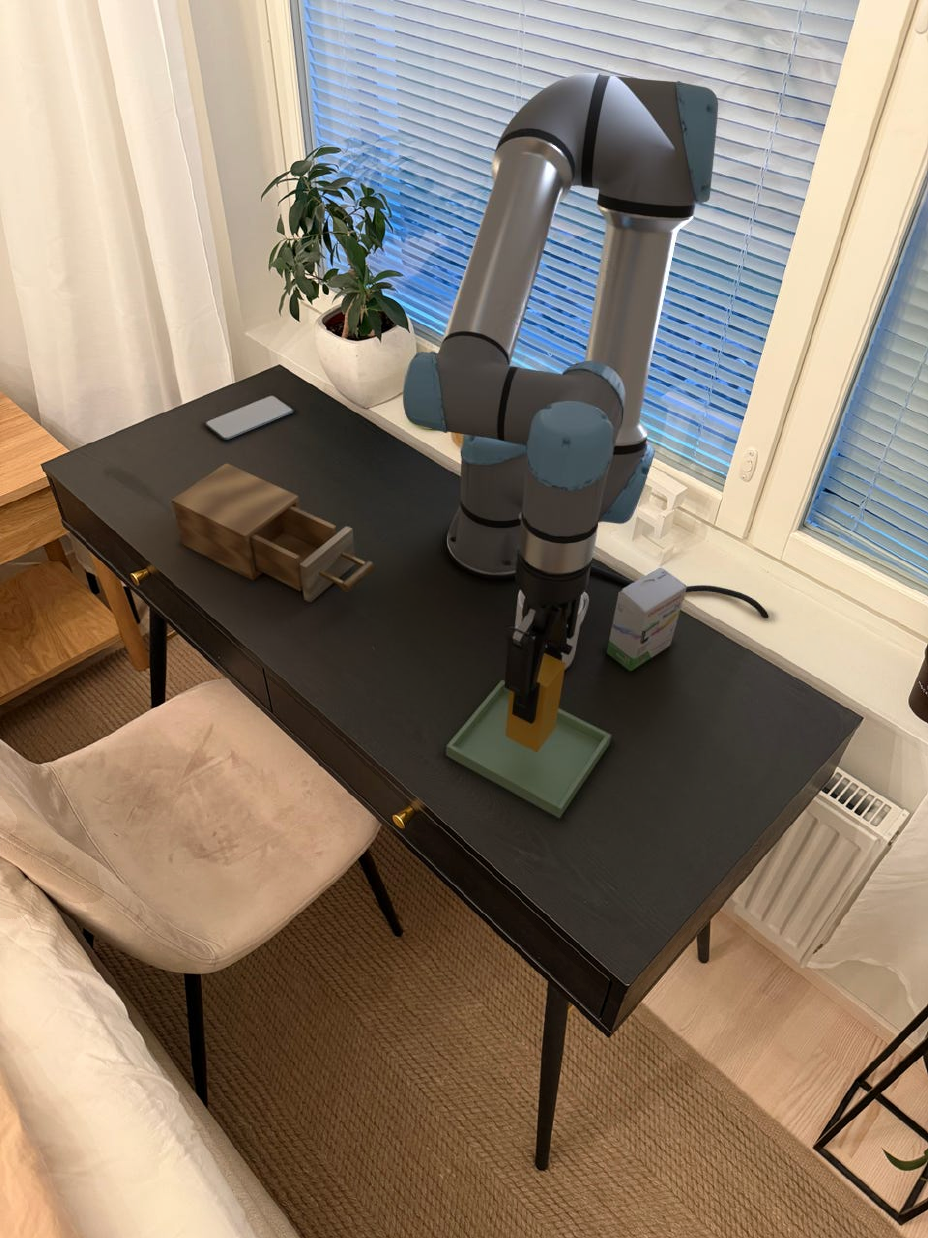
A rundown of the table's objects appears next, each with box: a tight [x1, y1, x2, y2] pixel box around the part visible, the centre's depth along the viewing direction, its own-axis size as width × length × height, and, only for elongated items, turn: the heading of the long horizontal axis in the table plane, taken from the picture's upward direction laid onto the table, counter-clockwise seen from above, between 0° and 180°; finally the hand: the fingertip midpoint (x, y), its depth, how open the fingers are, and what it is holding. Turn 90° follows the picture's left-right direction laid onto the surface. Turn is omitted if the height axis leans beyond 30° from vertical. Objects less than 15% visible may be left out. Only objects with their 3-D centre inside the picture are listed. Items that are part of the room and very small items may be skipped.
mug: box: [514, 589, 590, 670], centre depth 121 cm, size 9×12×11 cm
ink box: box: [606, 567, 688, 672], centre depth 121 cm, size 8×5×12 cm, turn 129°
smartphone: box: [204, 395, 295, 441], centre depth 164 cm, size 7×1×15 cm
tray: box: [445, 679, 612, 819], centre depth 112 cm, size 16×13×2 cm
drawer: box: [249, 505, 375, 603], centre depth 131 cm, size 19×10×7 cm, turn 57°
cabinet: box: [171, 462, 301, 581], centre depth 136 cm, size 15×12×9 cm
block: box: [505, 653, 566, 752], centre depth 106 cm, size 4×4×12 cm
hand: (534, 702), depth 106 cm, fingers closed on block, 4 cm apart
